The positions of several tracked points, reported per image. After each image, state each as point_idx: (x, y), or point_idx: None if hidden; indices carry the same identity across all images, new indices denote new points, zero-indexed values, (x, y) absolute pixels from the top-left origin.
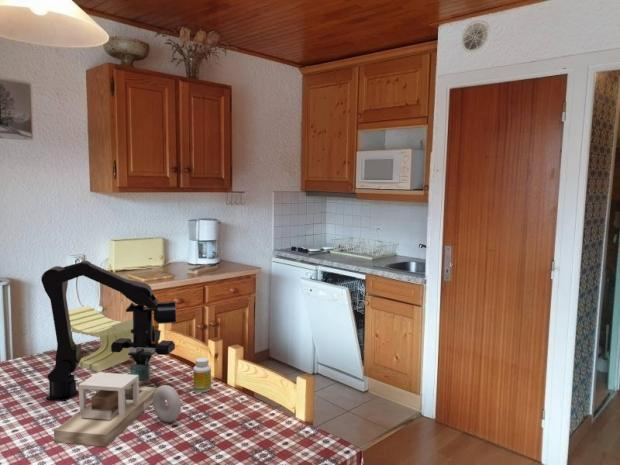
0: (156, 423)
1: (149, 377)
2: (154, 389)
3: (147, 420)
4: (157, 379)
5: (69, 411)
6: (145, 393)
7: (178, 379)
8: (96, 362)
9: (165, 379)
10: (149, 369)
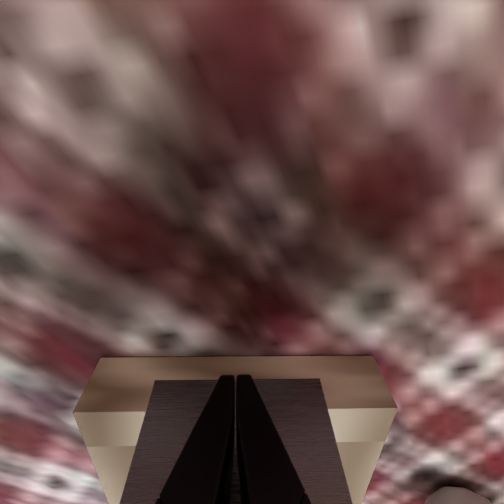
0: (417, 500)
1: (325, 416)
2: (378, 427)
3: (379, 493)
4: (255, 56)
5: (42, 490)
6: None
7: (480, 18)
8: None
9: (339, 41)
10: (347, 500)
